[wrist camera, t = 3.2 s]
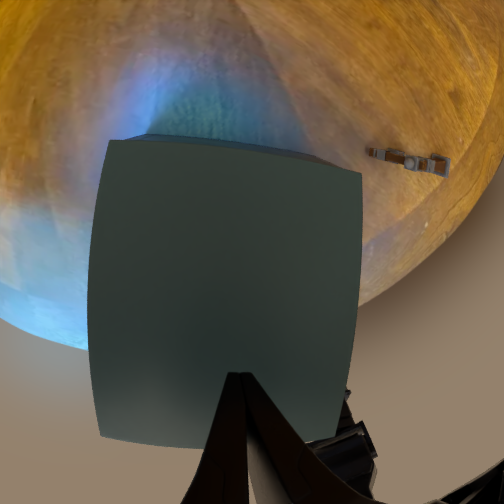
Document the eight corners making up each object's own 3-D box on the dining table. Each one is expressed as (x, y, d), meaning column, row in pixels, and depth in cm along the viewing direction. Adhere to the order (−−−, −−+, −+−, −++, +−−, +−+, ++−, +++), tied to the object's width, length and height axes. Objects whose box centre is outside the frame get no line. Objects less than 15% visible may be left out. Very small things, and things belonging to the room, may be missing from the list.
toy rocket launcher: (363, 138, 17) (420, 152, 13) (410, 146, 20) (452, 159, 17) (361, 163, 17) (416, 180, 14) (407, 165, 21) (449, 179, 18)
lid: (328, 429, 12) (335, 437, 11) (104, 428, 10) (100, 436, 9) (353, 177, 13) (362, 173, 12) (113, 146, 10) (109, 139, 10)
